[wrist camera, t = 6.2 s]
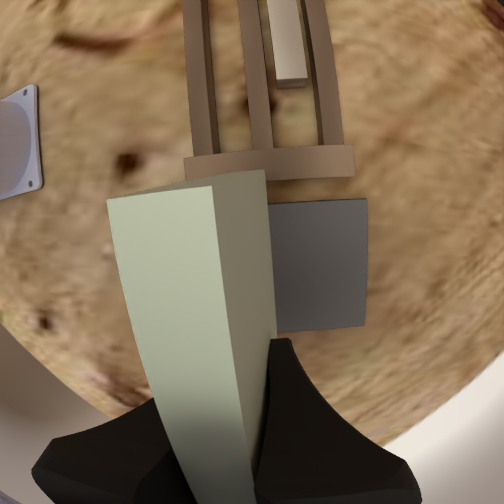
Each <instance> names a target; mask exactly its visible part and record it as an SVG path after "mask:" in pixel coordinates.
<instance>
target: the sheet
mask: <svg viewBox="0 0 504 504" xmlns="http://www.w3.org/2000/svg"><path fill="white" fill-rule="evenodd" d="M107 207H108V214H109V221H110V227H111V233H112V239H113V244H114V250H115V255H116V260H117V265H118V270H119V275H120V279H121V284H122V288H123V293H124V297H125V301H126V306H127V310H128V314H129V318H130V321H131V325H132V329H133V333H134V336H135V340H136V343H137V347H138V350H139V354H140V357H141V361H142V364H143V367H144V370H145V373H146V377H147V380H148V383H149V386H150V389H151V392H152V395H153V398H154V400H155V403H156V406H157V409H158V412H159V414H160V417H161V420H162V422H163V425H164V428H165V430H166V433H167V435H168V438H169V440H170V443H171V445H172V448H173V450H174V453H175V455H176V457H177V460H178V462H179V464H180V467H181V469H182V471H183V473H184V476H185V478H186V480H187V482H188V484H189V486H190V489H191V491H192V493H193V495H194V497H195V499H196V501H197V503H198V504H257V503H256V499H255V494H254V485H255V481H256V477H257V473H258V468H259V464H260V459H261V454H262V449H263V443H264V437H265V431H266V424H267V417H268V409H269V400H270V376H269V363H268V351H269V344H270V339H277V324H276V309H275V295H274V281H273V267H272V253H271V240H270V227H269V215H268V203H267V191H266V179H265V169H264V170H252V171H241V172H233V173H227V174H221V175H216V176H211V177H206V178H200V179H195V180H190V181H185V182H181V183H176V184H171V185H167V186H162V187H158V188H153V189H149V190H144V191H140V192H136V193H132V194H128V195H124V196H120V197H116V198H112V199H108V200H107Z"/></svg>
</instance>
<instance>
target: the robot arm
mask: <svg viewBox="0 0 504 504" xmlns="http://www.w3.org/2000/svg"><path fill="white" fill-rule="evenodd" d="M26 93H27V94H26ZM32 182H33V186H32ZM41 186H42V174H41V164H40V154H39V141H38V123H37V86H36V85H35V84H30V85H28V86H26V87H24V88H22V89H20V90H18V91H17V92H15V93H13V94H11V95H9V96H8V97H6V98H4V99H2V100H1V101H0V200H2V199H5V198H8V197H12V196H15V195H19V194H22V193H26V192H29V191H33V190H37V189H40V188H41ZM268 363H269V376H270V400H269V409H268V417H267V424H266V431H265V437H264V443H263V449H262V454H261V459H260V464H259V468H258V473H257V477H256V481H255V485H254V494H255V499H256V503H257V504H421V502H422V497H421V492H420V488H419V486H418V483H417V481H416V479H415V477H414V475H413V473H412V471H411V469H410V467H409V466H408V464H407V462H406V461H405V460H404V459H402V458H400V457H398V456H396V455H394V454H392V453H391V452H388V451H387V450H385V449H383V448H381V447H380V446H378V445H377V444H375V443H374V442H372V441H371V440H369V439H368V438H367V437H365V436H364V435H363V434H361V433H360V432H359V431H358V430H356V429H355V428H354V427H353V426H352V425H350V424H349V423H348V422H347V421H346V420H344V419H343V418H342V417H341V416H340V415H339V414H338V413H337V412H336V411H335V410H334V409H333V408H332V407H331V406H330V404H329V403H328V402H327V401H326V400H325V399H324V398H323V396H322V395H321V394H320V393H319V391H318V390H317V389H316V387H315V386H314V385H313V383H312V382H311V380H310V379H309V377H308V376H307V374H306V373H305V371H304V369H303V367H302V366H301V364H300V362H299V360H298V358H297V356H296V354H295V352H294V349H293V346H292V342H291V340H290V339H289V338H278V339H270V344H269V351H268ZM32 476H33V479H34V480H35V482H36V484H37V485H38V486H39V487H40V488H41V490H42V491H43V492H44V493H45V494H46V495H47V496H48V497H49V498H50V499H51V500H52V501H53V502H54V503H55V504H198V503H197V501H196V499H195V497H194V495H193V493H192V491H191V489H190V486H189V484H188V482H187V480H186V478H185V476H184V473H183V471H182V469H181V467H180V464H179V462H178V460H177V457H176V455H175V453H174V450H173V448H172V445H171V443H170V440H169V438H168V435H167V433H166V430H165V428H164V425H163V422H162V420H161V417H160V414H159V412H158V409H157V406H156V403H155V400H154V398H151V399H150V400H148V401H147V402H145V403H144V404H142V405H140V406H139V407H137V408H135V409H133V410H131V411H129V412H127V413H125V414H124V415H122V416H120V417H118V418H116V419H113V420H111V421H109V422H107V423H104V424H102V425H99V426H97V427H94V428H91V429H88V430H85V431H82V432H78V433H75V434H71V435H67V436H63V437H59V438H55V439H52V441H51V442H50V443H49V445H48V446H47V448H46V449H45V450H44V452H43V453H42V455H41V456H40V458H39V459H38V461H37V462H36V464H35V465H34V467H33V468H32ZM0 504H21V503H20V502H18V501H16V500H15V499H13V498H11V497H10V496H8V495H6V494H5V493H3V492H2V491H0Z"/></svg>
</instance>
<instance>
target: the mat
mask: <svg viewBox="0 0 504 504" xmlns="http://www.w3.org/2000/svg"><path fill="white" fill-rule="evenodd" d="M268 215H269V227H270V240H271V253H272V267H273V281H274V295H275V309H276V324H277V332H292V331H308V330H322V329H335V328H347V327H357V326H364V322H365V307H366V288H367V255H368V214H367V199H366V198H363V199H340V200H321V201H303V202H288V203H273V204H268Z"/></svg>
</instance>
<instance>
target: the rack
mask: <svg viewBox="0 0 504 504" xmlns="http://www.w3.org/2000/svg"><path fill="white" fill-rule="evenodd" d="M182 1H183V24H184V42H185V58H186V73H187V86H188V99H189V111H190V122H191V133H192V143H193V153H194V157H189V158H184V168H185V177H186V181H190V180H195V179H200V178H206V177H211V176H216V175H221V174H227V173H233V172H241V171H252V170H264V169H265V179H266V181H274V180H288V179H304V178H323V177H346V176H355V164H354V149H353V145H344V141H343V130H342V119H341V110H340V101H339V92H338V84H337V77H336V69H335V62H334V56H333V49H332V43H331V37H330V31H329V25H328V20H327V15H326V10H325V5H324V0H300V2H301V7H302V13H303V19H304V25H305V32H306V38H307V45H308V52H309V59H310V66H311V74H312V82H313V90H314V99H315V108H316V118H317V128H318V139H319V146H300V147H285V148H274V143H273V132H272V122H271V112H270V102H269V92H268V83H267V74H266V65H265V56H264V47H263V39H262V31H261V23H260V15H259V7H258V0H238V7H239V16H240V26H241V35H242V45H243V54H244V64H245V74H246V84H247V94H248V104H249V114H250V124H251V135H252V145H253V150H248V151H238V152H229V153H220V145H219V135H218V124H217V114H216V103H215V92H214V80H213V69H212V57H211V45H210V32H209V19H208V5H207V0H182Z"/></svg>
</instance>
